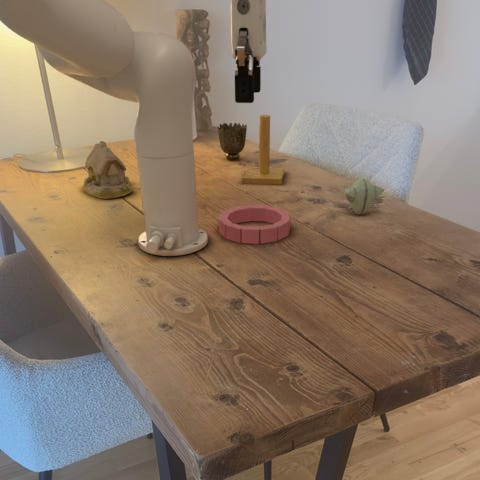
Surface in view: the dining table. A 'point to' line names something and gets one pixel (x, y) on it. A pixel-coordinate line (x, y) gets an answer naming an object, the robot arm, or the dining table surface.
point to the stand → (264, 159)
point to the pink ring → (254, 234)
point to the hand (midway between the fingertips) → (248, 97)
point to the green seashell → (362, 195)
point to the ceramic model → (105, 174)
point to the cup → (232, 139)
